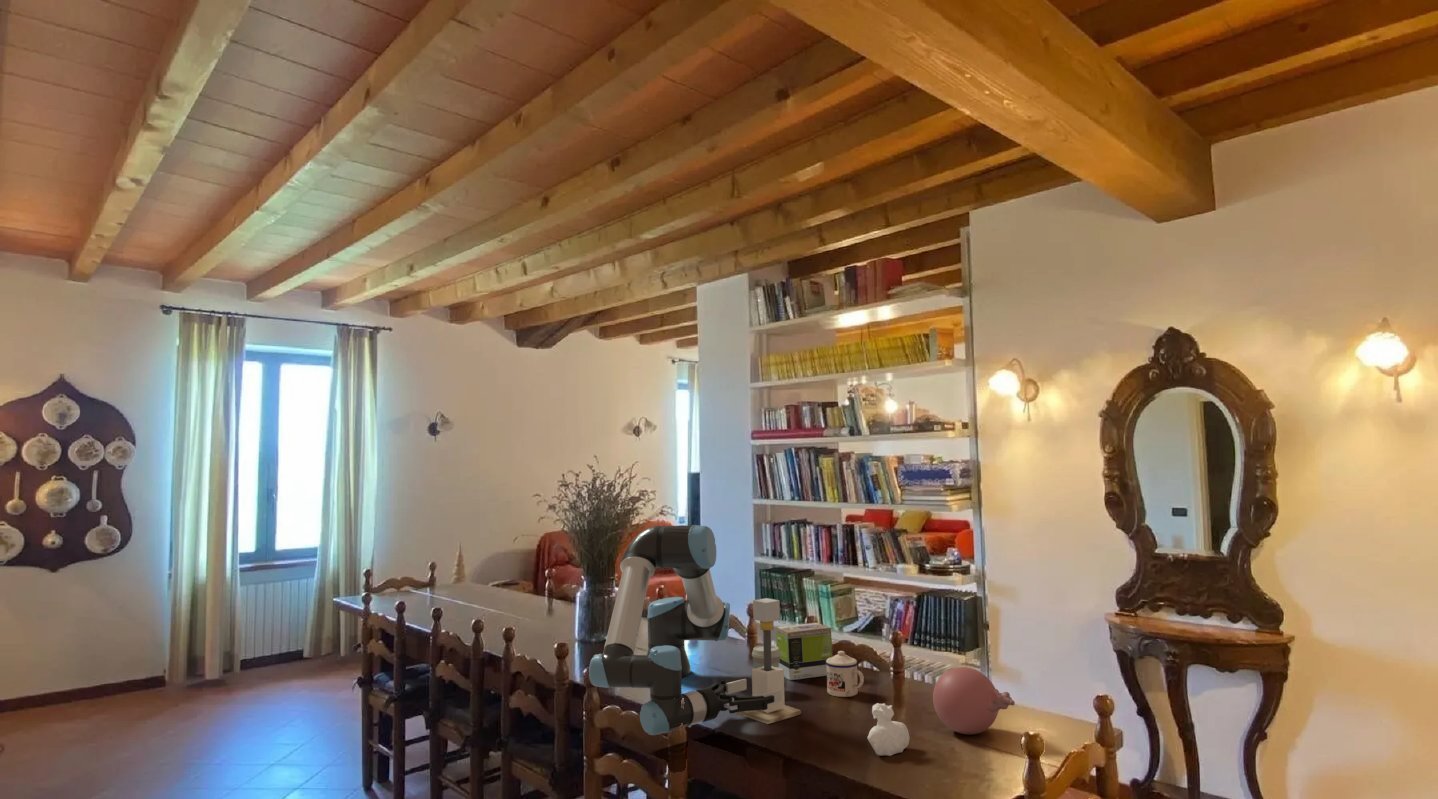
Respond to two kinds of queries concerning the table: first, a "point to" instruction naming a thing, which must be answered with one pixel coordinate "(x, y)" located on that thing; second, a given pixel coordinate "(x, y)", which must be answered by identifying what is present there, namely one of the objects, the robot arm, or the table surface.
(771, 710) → the marker sleeve
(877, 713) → the bust
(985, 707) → the balloon
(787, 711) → the tan slab base
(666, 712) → the robot arm
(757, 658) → the coffee cup
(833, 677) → the teacup with lid
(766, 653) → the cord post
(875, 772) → the table surface
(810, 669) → the tea box
